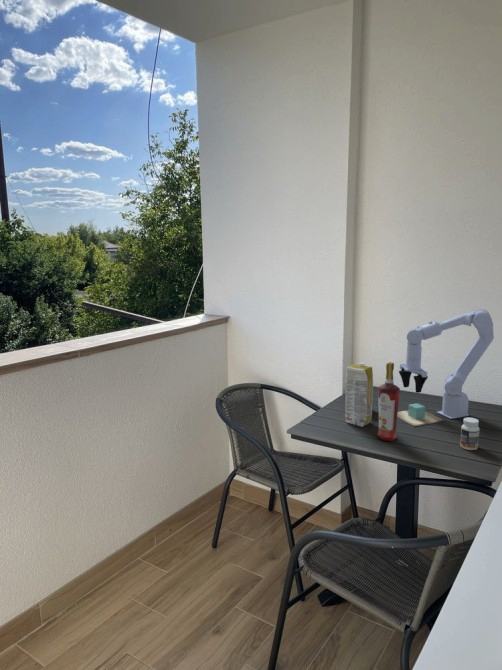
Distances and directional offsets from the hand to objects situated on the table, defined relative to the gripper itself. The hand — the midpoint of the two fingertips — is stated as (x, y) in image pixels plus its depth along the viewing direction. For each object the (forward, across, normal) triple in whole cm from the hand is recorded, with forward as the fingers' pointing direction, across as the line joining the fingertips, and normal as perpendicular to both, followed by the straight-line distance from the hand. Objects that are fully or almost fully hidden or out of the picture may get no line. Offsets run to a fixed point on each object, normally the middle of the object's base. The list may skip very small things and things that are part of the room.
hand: (412, 389), depth 197 cm
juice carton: (+9, +3, -28) cm, 30 cm away
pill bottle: (+9, +37, -6) cm, 39 cm away
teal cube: (+8, +8, -4) cm, 12 cm away
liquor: (+9, +20, -27) cm, 35 cm away
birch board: (+9, +8, -4) cm, 13 cm away
